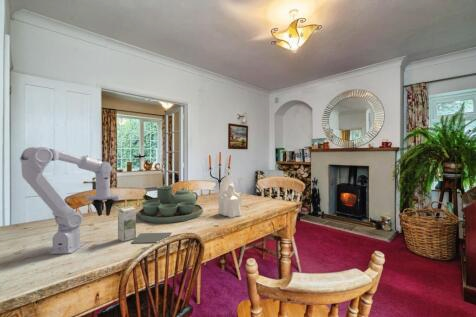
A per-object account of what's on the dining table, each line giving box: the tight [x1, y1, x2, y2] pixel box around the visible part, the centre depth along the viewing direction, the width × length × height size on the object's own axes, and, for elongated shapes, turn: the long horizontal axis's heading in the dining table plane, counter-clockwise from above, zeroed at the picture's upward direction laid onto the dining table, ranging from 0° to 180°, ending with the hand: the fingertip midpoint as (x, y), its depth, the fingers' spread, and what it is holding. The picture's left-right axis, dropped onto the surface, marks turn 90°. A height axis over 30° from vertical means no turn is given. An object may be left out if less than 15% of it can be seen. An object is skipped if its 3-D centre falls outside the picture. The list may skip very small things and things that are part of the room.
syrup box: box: [117, 206, 137, 242], centre depth 108 cm, size 6×6×14 cm
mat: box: [130, 232, 172, 245], centre depth 109 cm, size 12×15×1 cm
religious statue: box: [217, 167, 251, 218], centre depth 150 cm, size 17×14×30 cm
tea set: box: [137, 185, 204, 224], centre depth 150 cm, size 40×40×16 cm
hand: (104, 215), depth 110 cm, fingers open, 3 cm apart
